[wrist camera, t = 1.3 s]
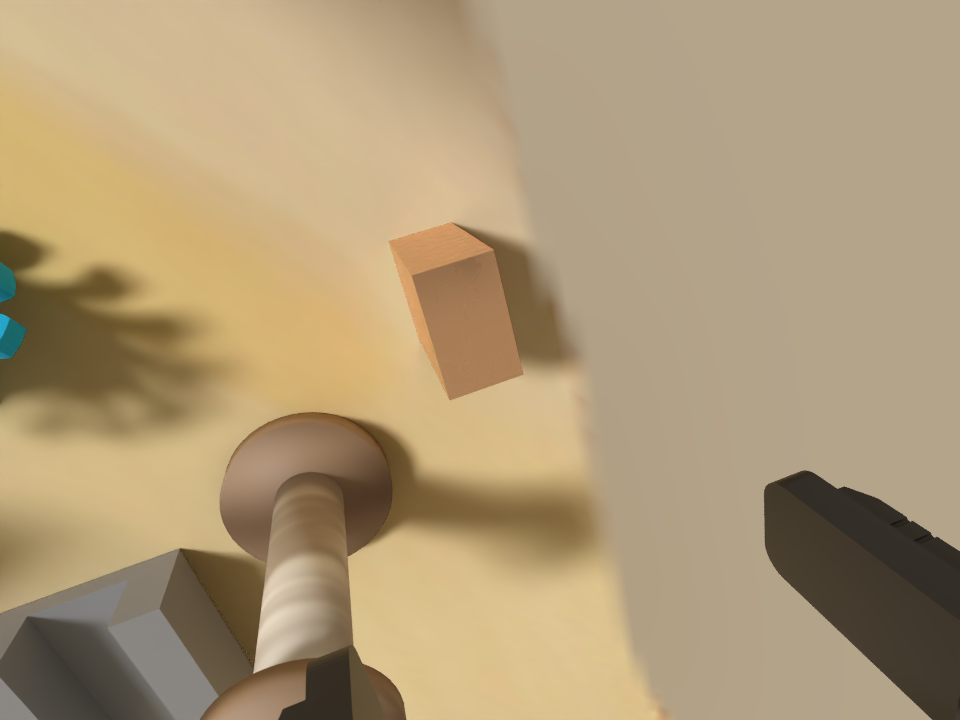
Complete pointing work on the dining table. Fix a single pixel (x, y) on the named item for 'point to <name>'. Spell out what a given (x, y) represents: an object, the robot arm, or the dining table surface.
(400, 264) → the copper tab
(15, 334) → the gear
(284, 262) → the dining table surface
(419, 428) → the dining table surface
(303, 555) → the bobbin
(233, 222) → the dining table surface
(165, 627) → the grooved channel block
